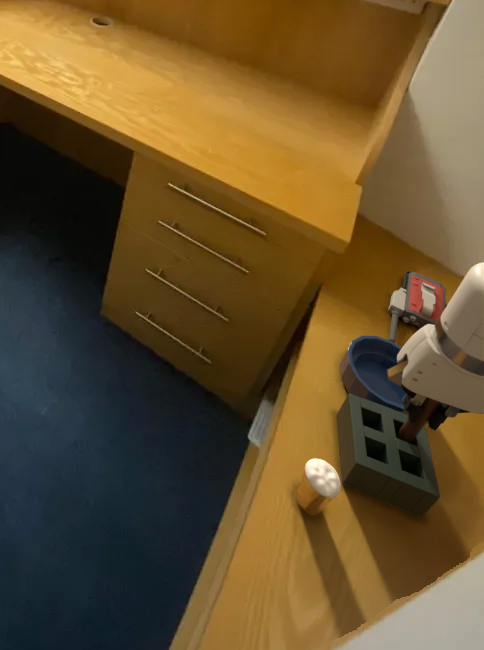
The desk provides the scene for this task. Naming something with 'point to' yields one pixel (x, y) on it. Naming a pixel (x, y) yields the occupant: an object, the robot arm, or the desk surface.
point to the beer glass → (317, 486)
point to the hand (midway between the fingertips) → (420, 415)
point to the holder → (385, 457)
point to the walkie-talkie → (417, 302)
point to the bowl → (372, 371)
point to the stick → (417, 422)
